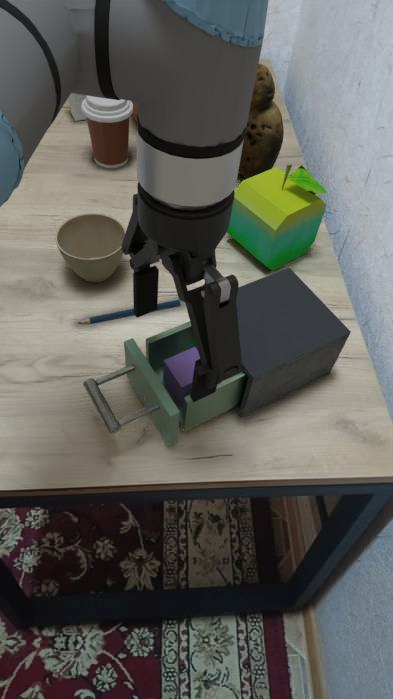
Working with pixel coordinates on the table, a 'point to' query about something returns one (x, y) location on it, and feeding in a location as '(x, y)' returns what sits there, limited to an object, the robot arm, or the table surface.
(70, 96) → the cosmetic box
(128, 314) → the pencil
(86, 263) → the flower pot
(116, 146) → the coffee cup
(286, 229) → the apple
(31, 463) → the table surface
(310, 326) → the charcoal drawer box
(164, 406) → the green drawer
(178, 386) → the purple cube
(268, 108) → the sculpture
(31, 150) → the robot arm
